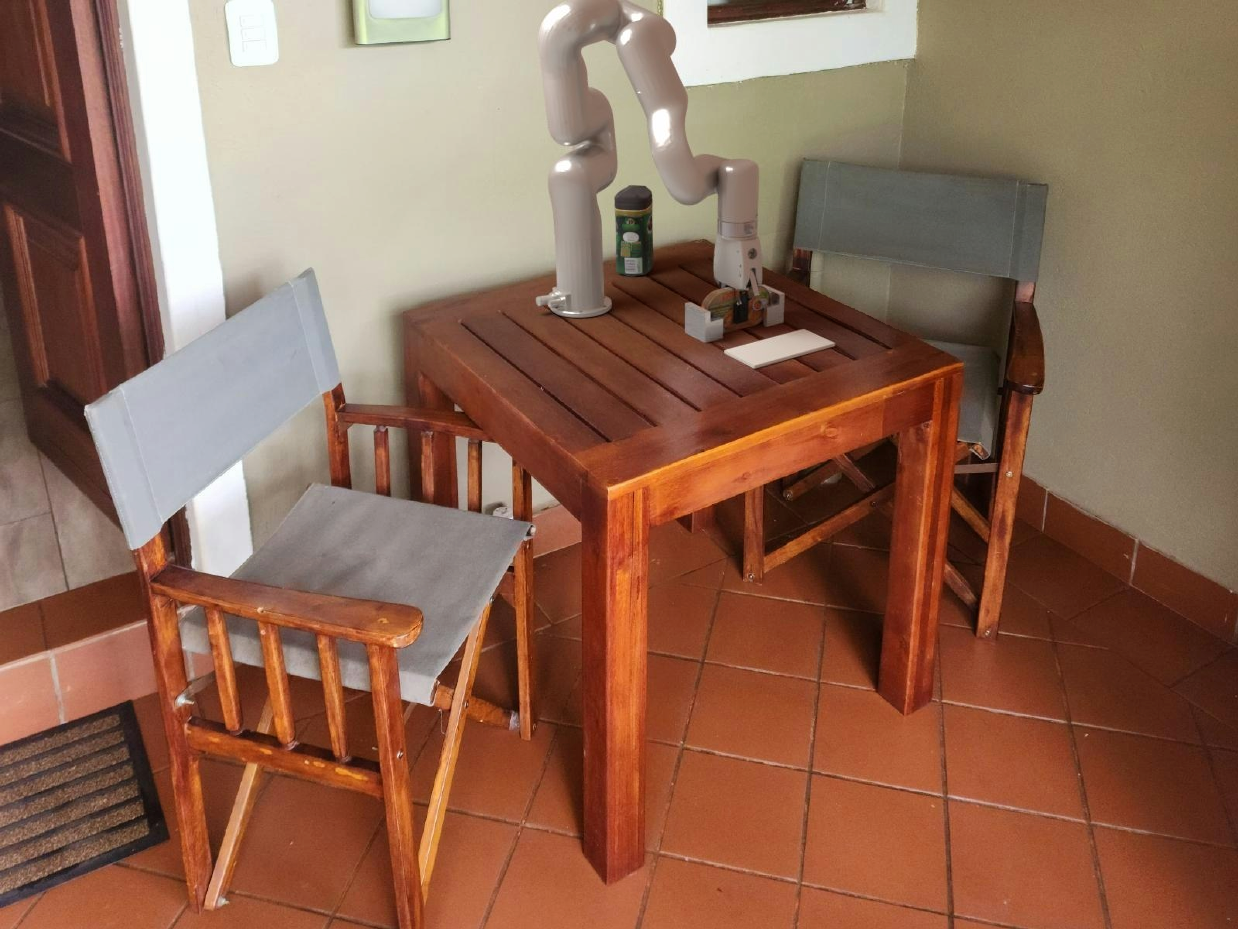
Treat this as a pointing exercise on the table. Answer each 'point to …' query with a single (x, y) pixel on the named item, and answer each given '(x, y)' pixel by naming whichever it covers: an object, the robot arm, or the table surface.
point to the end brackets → (712, 329)
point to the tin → (723, 307)
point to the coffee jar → (634, 230)
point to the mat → (779, 348)
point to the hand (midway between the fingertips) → (735, 318)
